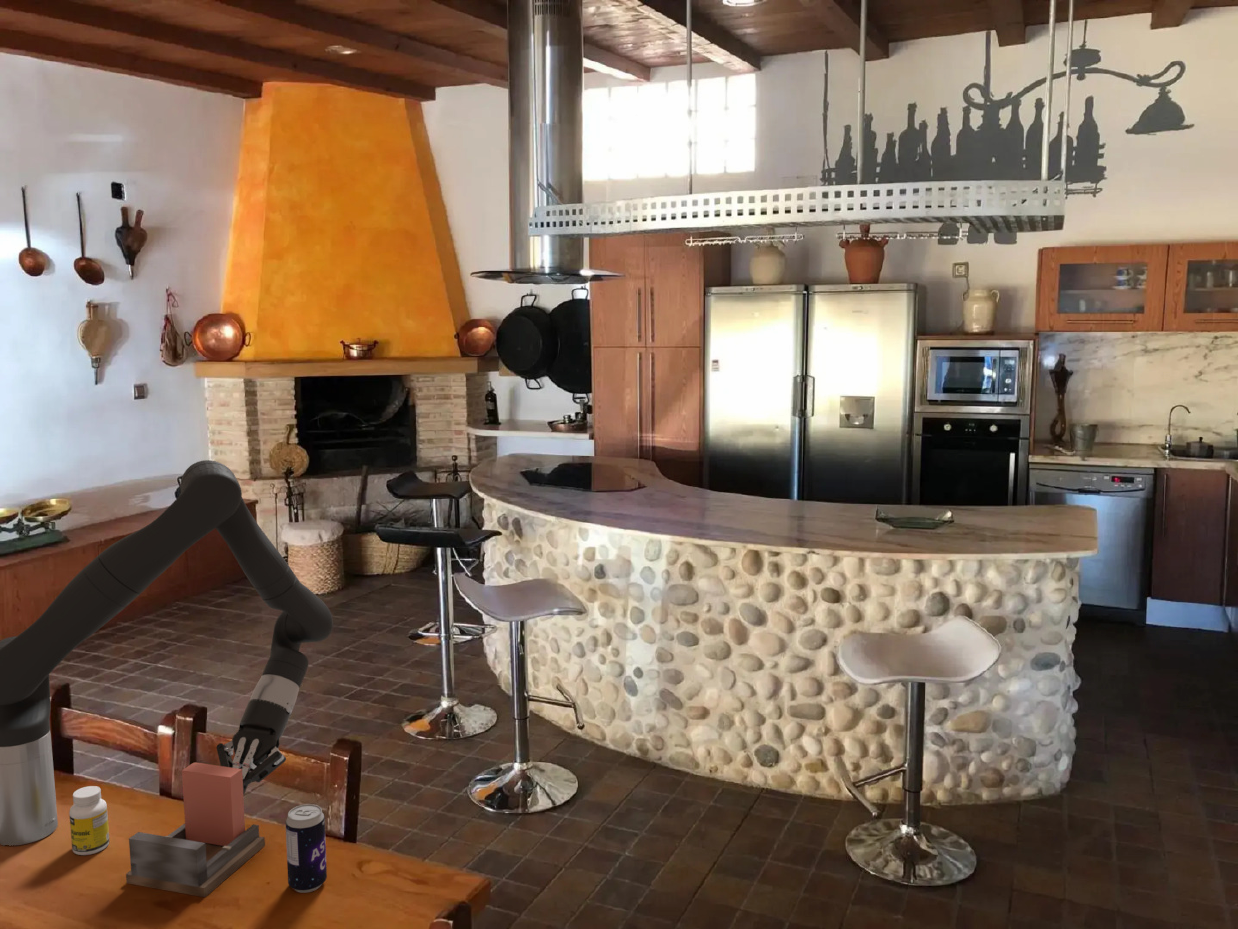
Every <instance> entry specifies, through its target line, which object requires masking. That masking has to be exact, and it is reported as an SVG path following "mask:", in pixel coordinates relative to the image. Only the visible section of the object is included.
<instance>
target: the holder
mask: <svg viewBox="0 0 1238 929" xmlns="http://www.w3.org/2000/svg"><path fill="white" fill-rule="evenodd" d="M259 828H260V825H259V824H252V825H251V826H250V827H248V828H247V829H245V831H244V832H243V833H242V834H241V835H239V836H238V837H237V838H236V839H235V840H233V841H232V842H231V843H230V844H228V845H227V846H222V845H216V844H209V843H203V842H197V841H191V840H186V831H185V823H183V824H182V825H180V826H178V828H176V829H175V830H173V831H172V832H171V833H170V834H168V835H159V834H153V833H146V832H140V831H137V832H136V833H134V834H133V835H132V836H130V837H129V838H128V844H129V848H128V849H129V861H130V870H129V871H128V872H127V873H125V878H126V880H125V882H126V884H129V885H136V886H141V887H147V888H150V889H151V888H153V889H156V890H157V889H158V890H162V891H168V892H169V891H170V892H174V893H180V894H184V895H191V896H196V897H201V898H206V897H207V896H208V895H210V894H211V893H212V892H213V891H214V890H216V889H217V888H218V887H219V886H220V885H222V883H223V882H224V881H226V880H227V879H228V878H229V877H230V876H232V875H233V874H234V873H235V872H236V871H237V870H239V869H240V868H241V867H242V866H243V865H244V864H246V863H247V862H248V861H249V860H250V859H252V857H254V856H255V855H256V854H257V853H258V852H259V851H260V850H262V849H263V848H264V847H265V846H266V844H265V842H266V840H265V837H264V836H260V829H259Z"/></svg>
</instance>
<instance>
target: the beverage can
mask: <svg viewBox="0 0 1238 929" xmlns="http://www.w3.org/2000/svg"><path fill="white" fill-rule="evenodd" d="M285 841H286V844H285V845H286V859H287V860H286V863H287V864H286V867H287V884H288V886H289V887H290V888H291V889H293V890H294V891H296V892H297V893H302V894H303V893H305V894H306V893H311V892H314V891H316V890H317V889H319V888H321V886H322V885H323V884H324V883H325V882H326V880H327V878H328V873H327V872H328V871H327V848H326V847H327V846H326V844H327V843H326V818H325V815H324V813H323V810H322V807H320V806H319V805H317V804H313V803H306V804H300V805H297V806H295V807H293V808H291V809H290V810H289V811H288V813H287V818H286V820H285Z"/></svg>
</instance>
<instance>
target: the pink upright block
mask: <svg viewBox="0 0 1238 929" xmlns="http://www.w3.org/2000/svg"><path fill="white" fill-rule="evenodd" d="M181 775H182V776H181V778H182V794H183V797H182V798H183V813H184V824H185V831H186V840H191V841H197V842H203V843H209V844H216V845H222V846H227V845H228V844H230V843H231V842H232V841H233V840H235V839H236V838H237V837H238V836H239V835H241V834H242V833H243V832H244V831H246V823H245V822H246V821H245V803H244V801H245V800H244V799H245V797H244V796H243V778H242V769H238V768H231V767H224V766H221V765H215V764H210V763H201V762H193V763H191V764H189V765H188V766H186V767H185V768H183V769H182V770H181Z"/></svg>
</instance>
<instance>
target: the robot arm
mask: <svg viewBox="0 0 1238 929" xmlns="http://www.w3.org/2000/svg"><path fill="white" fill-rule="evenodd" d="M179 486H180V495H179V496H177V498H176V499H175V500H174V501H173V502H172V503H171V504H170V505H169V506H168V507H167V508H166V509H165V510H163V512H162V513H161V514H160V515H159V516H158V517H157V518H155V519H154V520H153V521H152V522H151V523H149V524H147V525H146V526H144V527H143V528H140V529H139V530H137V531H135V532H133V533H131V534H129V535H127V536H125V537H123V538H121V539H119V540H117V541H116V542H114V543H113V544H111V545H109V546H108V547H107V548H106V549H104V550H103V551H102V552H100V553H99V554H98V555H97V556H96V557H95V558H94V559H92V561H90V562H89V563H88V564H87V565H86V566H84V568H82V570H80V571H79V572H78V573H77V574H76V575H75V576H74V577H73V578H72V580H70V581H69V582H68V584H66V586H65V587H64V588H63V589H62V590H61V592H59V594H58V595H57V596H56V597H55V598H54V600H53V601H52V603H50V604H49V606H48V607H47V608H46V610H45V611H44V612H43V613H42V615H40V616H39V618H37V620H35V621H34V622H33V623H32V624H31V625H30V626H28V627H27V628H26V629H24V630H23V631H22V632H21V633H19V634H18V635H17V636H11V637H10V636H9V637H6V638H3V639H1V640H0V844H1V845H0V846H5V845H9V846H11V845H12V846H13V845H14V846H21V845H27V844H31V843H34V842H38V841H39V840H42V839H45V837H48V836H50V835H51V834H53V833H54V831H56V829H57V828H58V826H59V825H58V823H59V822H58V821H59V820H58V809H57V798H56V797H57V795H56V786H55V784H56V783H55V772H54V760H53V748H52V735H51V721H50V717H51V707H52V702H51V689H50V688H51V686H50V684H51V683H50V674H51V673H52V672H53V671H54V670H55V669H56V668H57V666H58V665H59V664H60V663H61V662H62V661H63V660H64V659H65V658H66V657H67V656H68V655H69V654H70V653H71V652H72V651H73V650H74V649H76V648H77V647H78V646H79V645H81V644H82V642H84V641H86V640H87V639H89V637H91V636H92V635H94V634H95V633H96V632H98V631H99V630H100V629H101V628H103V627H104V626H105V625H106V624H107V623H109V622H110V620H112V619H114V618H115V617H116V616H118V615H119V613H121V612H122V611H123V610H124V609H126V607H128V606H129V605H130V604H131V603H132V602H133V601H135V599H136V598H138V597H139V596H140V595H141V594H142V593H143V592H144V591H145V590H147V588H148V587H149V586H150V585H151V584H152V583H153V582H154V581H155V580H156V579H158V578H159V577H160V576H161V575H162V574H163V573H164V572H165V571H166V570H167V569H169V568H170V566H171V565H173V564H174V563H175V562H176V560H178V559H179V558H180V556H182V555H183V554H184V553H185V552H186V551H187V550H188V549H189V548H191V547H192V546H194V544H196V543H197V542H199V541H200V540H201V539H203V538H204V537H205V536H206V535H209V533H211V532H212V531H213V530H216V531H217V532H218V533H219V535H220V536H221V537H222V539H223V541H224V542H225V543H226V545H227V546H228V548H229V549H230V551H231V554H233V556H234V558H235V559H236V561H237V563H238V565H239V566H240V568H241V570H242V572H243V573H244V575H245V576H246V578H247V579H248V580H249V582H250V584H251V586H253V588H254V589H255V591H256V592H257V593H258V595H259V597H260V598H261V599H262V600H263V602H264V603H265V605H266V606H268V607H269V608H271V609H274V610H278V611H281V613H280V614H279V616H278V617H277V618H276V620H275V624H274V628H273V633H272V638H271V639H272V640H271V646H270V656H269V658H268V660H267V663H266V664H265V667H264V669H263V672H262V673H261V677H260V678H259V680H258V682H257V683H256V685H255V687H254V688H253V691H252V694H251V696H250V699H249V701H248V703H247V705H246V708H245V710H244V713H243V715H242V717H241V719H240V722H239V729H238V730H237V731H236V732H235V734H234V735H233V736H232V739H231V740H230V741H228V742H226V743H224V744H223V743H221V742H220V743H218V744H217V745H216V752H217V756H218V760H219V764H220V765H219V766H224V767H231V768H238V769H242V778H243V797H244V796H245V794H246V791H247V788H248V787H249V785H250V784H251V783H255V782H256V783H260V782H262V781H263V780H264V779H265V778H267V777H268V776H269V775H270V774H272V772H274V771H276V770H277V769H278V768H279V767H280V766H281V765H283V764H284V763H285V762H286V760H287V757H286V756H285V755H284V754H283V753H282V752H281V751H280V749H279V748H280V739H281V738H282V737H283V735H284V732H285V729H286V727H287V724H288V722H289V719H290V717H291V714H292V712H293V710H294V708H295V704H296V702H297V700H298V699H297V698H298V694H299V690H300V688H301V686H302V684H303V680H304V678H305V676H306V673H307V670H308V668H309V658H308V657H307V656H306V655H305V653H303V652H301V651H300V648H301V645H302V644H305V643H317V642H318V643H319V642H322V641H324V640H326V639H328V638H329V636H330V635H331V633H332V632H333V628H334V619H333V615H332V612H331V610H330V609H329V607H328V606H327V605H326V604H325V602H324V601H323V600H322V599H321V598H320V597H319V596H317V595H316V594H315V592H313V591H312V590H311V589H309V588H308V586H306V585H304V584H303V583H302V582H301V581H300V580H299V578H298V577H297V576H296V573H294V571H293V569H292V568H291V566H289V564H288V563H287V561H286V560H285V558H284V557H283V556H282V554H281V553H280V552H279V550H278V549H277V548H276V546H275V545H274V544H273V543H272V541H271V540H270V539H269V538H268V536H267V535H266V533H265V532H264V531H263V530H262V528H261V526H260V525H259V524H258V523H257V521H256V519H255V518H254V517H253V514H252V513H251V511H250V510H249V508H248V506H247V505H246V503H245V501H244V498H243V497H242V496H243V495H242V494H243V492H242V488H241V485H240V483H239V481H238V480H237V478H236V476H235V474H234V472H233V471H232V470H231V469H230V468H229V467H227V465H225V464H223V463H221V462H219V461H216V460H211V459H210V460H209V459H206V460H199V461H196V462H194V463H192V464H191V465H190V466H188V468H186V469H185V471H184V473H183V475H182V476H181V481H180V485H179ZM232 756H234V757H232ZM12 846H11V847H12Z"/></svg>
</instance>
